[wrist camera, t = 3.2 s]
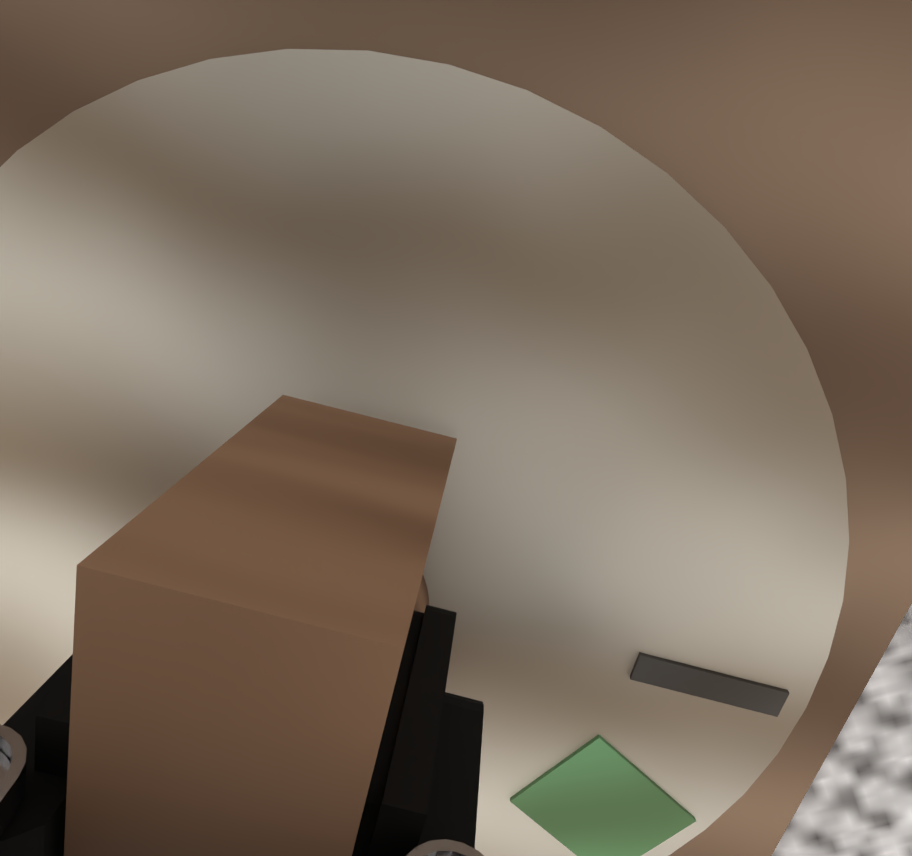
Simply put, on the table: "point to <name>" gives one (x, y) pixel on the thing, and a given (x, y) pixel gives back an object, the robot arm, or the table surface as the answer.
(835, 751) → the table surface
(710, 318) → the dial board
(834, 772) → the table surface
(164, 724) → the wing knob
